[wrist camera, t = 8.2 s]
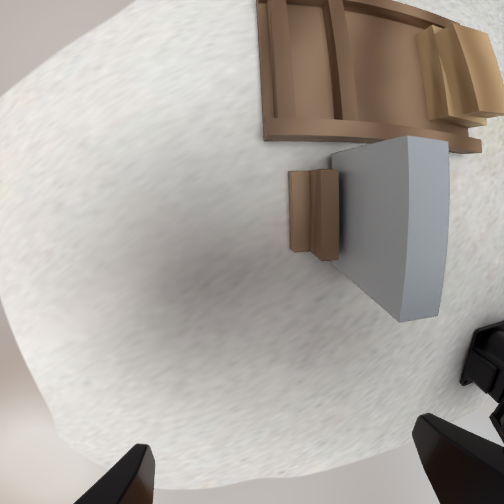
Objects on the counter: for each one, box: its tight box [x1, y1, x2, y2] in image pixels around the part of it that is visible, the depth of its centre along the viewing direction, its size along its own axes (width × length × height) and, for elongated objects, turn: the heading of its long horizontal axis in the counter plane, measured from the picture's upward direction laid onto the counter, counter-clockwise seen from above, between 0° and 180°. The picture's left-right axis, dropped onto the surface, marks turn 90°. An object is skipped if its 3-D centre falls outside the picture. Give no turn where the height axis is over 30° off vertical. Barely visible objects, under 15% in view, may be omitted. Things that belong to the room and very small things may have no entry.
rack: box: [256, 0, 482, 154], centre depth 17 cm, size 16×11×2 cm
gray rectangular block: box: [331, 136, 450, 323], centre depth 15 cm, size 2×7×9 cm, turn 2°
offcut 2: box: [433, 23, 504, 118], centre depth 14 cm, size 4×6×2 cm, turn 10°
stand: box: [289, 169, 339, 261], centre depth 18 cm, size 7×5×4 cm
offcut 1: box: [415, 25, 487, 128], centre depth 16 cm, size 4×7×2 cm, turn 2°
